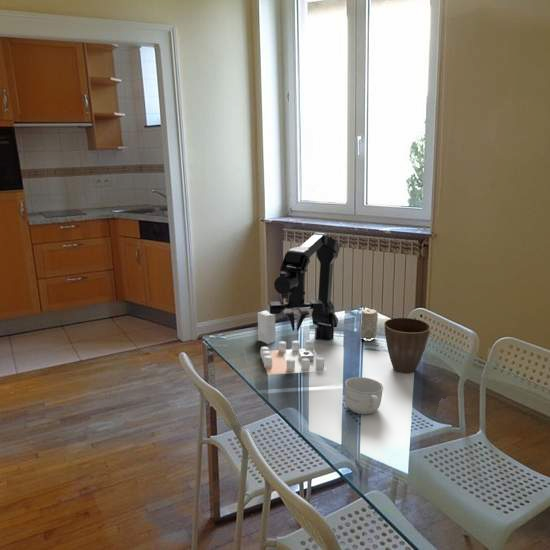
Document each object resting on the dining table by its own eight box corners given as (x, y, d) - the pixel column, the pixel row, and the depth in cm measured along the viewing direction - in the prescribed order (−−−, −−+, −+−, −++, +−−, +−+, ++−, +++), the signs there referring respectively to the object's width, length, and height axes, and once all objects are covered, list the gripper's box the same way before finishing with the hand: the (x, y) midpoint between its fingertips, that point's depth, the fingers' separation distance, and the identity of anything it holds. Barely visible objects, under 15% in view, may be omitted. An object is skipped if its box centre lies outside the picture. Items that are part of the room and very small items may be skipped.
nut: (310, 356, 182) (310, 350, 182) (313, 361, 178) (313, 355, 178) (298, 357, 182) (298, 350, 181) (301, 362, 177) (301, 355, 177)
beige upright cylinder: (357, 341, 200) (359, 312, 197) (362, 335, 207) (363, 306, 204) (373, 344, 197) (375, 314, 194) (377, 337, 204) (379, 308, 201)
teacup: (340, 400, 153) (341, 376, 151) (375, 399, 154) (377, 375, 152) (350, 425, 140) (352, 398, 138) (389, 424, 141) (391, 397, 139)
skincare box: (276, 343, 197) (276, 313, 194) (267, 346, 194) (267, 316, 191) (266, 339, 201) (266, 309, 198) (257, 341, 199) (257, 311, 196)
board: (313, 350, 191) (313, 339, 189) (327, 373, 171) (327, 361, 170) (258, 353, 187) (258, 341, 186) (266, 377, 168) (266, 364, 167)
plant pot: (394, 380, 167) (397, 334, 163) (373, 362, 181) (376, 319, 177) (435, 375, 171) (439, 330, 167) (411, 358, 185) (415, 316, 181)
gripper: (317, 279, 182) (316, 321, 186) (265, 281, 179) (265, 323, 183) (325, 288, 171) (324, 332, 175) (270, 290, 168) (269, 335, 172)
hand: (295, 330), depth 177 cm, fingers closed
